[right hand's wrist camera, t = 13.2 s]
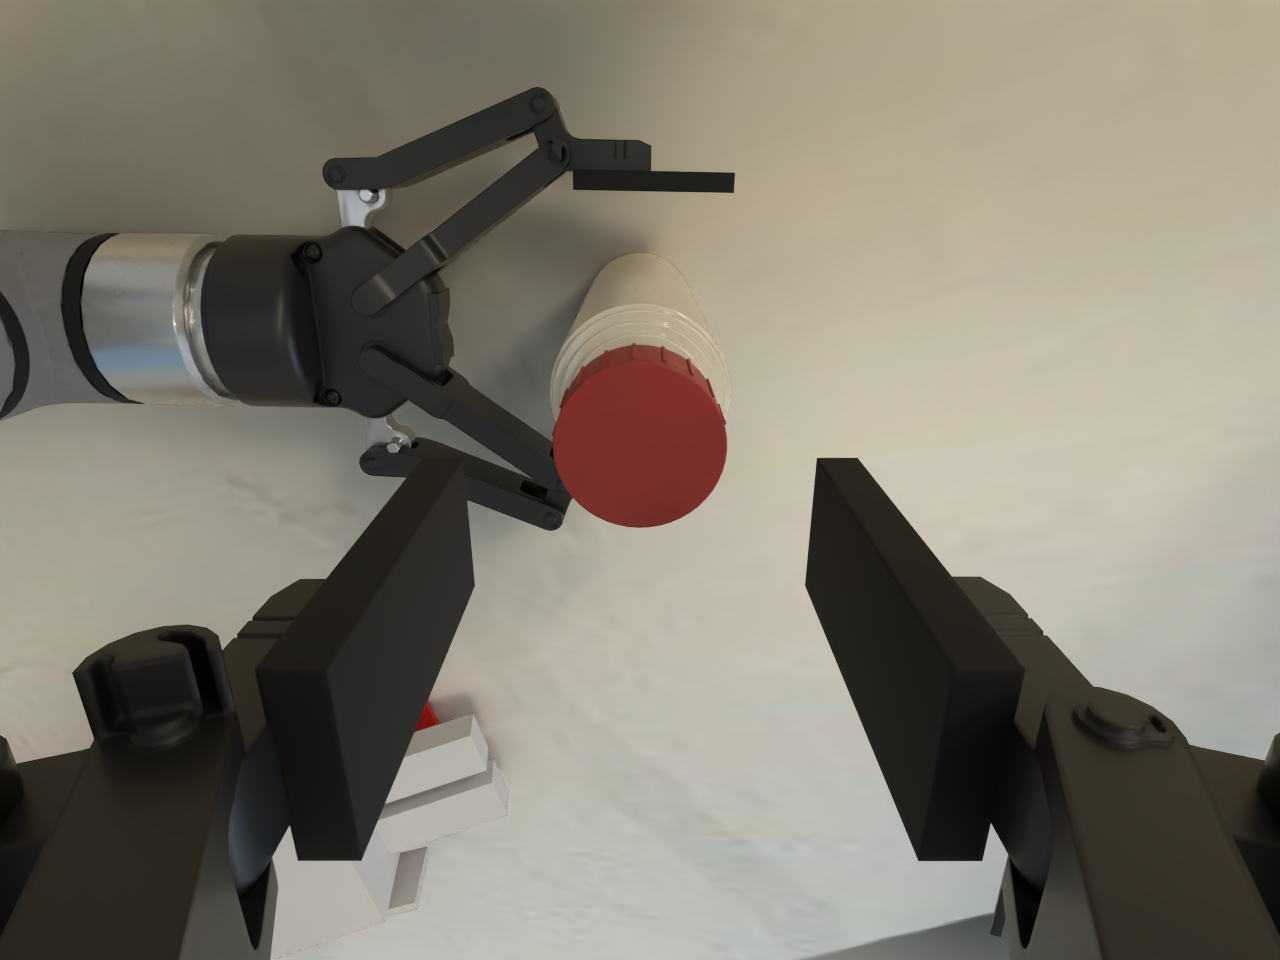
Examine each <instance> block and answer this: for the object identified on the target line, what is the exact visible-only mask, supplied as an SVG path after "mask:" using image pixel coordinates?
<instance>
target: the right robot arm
mask: <svg viewBox="0 0 1280 960" xmlns="http://www.w3.org/2000/svg"><path fill="white" fill-rule="evenodd" d="M474 586H475V582H474V572H473V561H472V550H471V539H470V529H469V518H468V507H467V496H466V485H465V475H464V464H463V458H422V459H421V461H420V462H419V463H418V464H417V466H416V467H415V468H414V469H413V471H412V472H411V473H410V474H409V476H408V477H407V478H406V479H405V481H404V482H403V483H402V484H401V486H400V487H399V488H398V490H397V491H396V492H395V493H394V495H393V496H392V497H391V498H390V500H389V501H388V502H387V503H386V505H385V506H384V507H383V508H382V510H381V511H380V512H379V513H378V515H377V516H376V517H375V518H374V520H373V521H372V522H371V523H370V525H369V526H368V527H367V529H366V530H365V531H364V532H363V534H362V535H361V536H360V537H359V539H358V540H357V541H356V542H355V544H354V545H353V546H352V547H351V549H350V550H349V551H348V552H347V554H346V555H345V556H344V557H343V559H342V560H341V561H340V562H339V564H338V565H337V566H336V567H335V569H334V570H333V571H332V573H331V574H330V575H329V576H328V578H327V579H299V580H298V581H296V582H294V583H293V584H291V585H289V586H288V587H286V588H284V589H283V590H281V591H279V592H278V593H276V594H274V595H273V596H271V597H270V598H269V599H268V600H267V601H266V603H265V604H264V605H263V606H262V607H261V608H260V609H259V610H258V611H257V613H256V614H255V615H254V616H253V620H252V621H249V622H248V623H247V624H246V625H245V626H244V627H243V628H242V629H241V630H240V632H239V633H238V634H237V635H238V636H237V638H233V639H232V641H231V642H230V643H229V644H228V645H227V646H226V647H225V648H224V649H223V651H222V649H221V645H220V640H219V636H218V635H217V634H215V633H214V632H212V631H211V630H209V629H208V628H205V627H199V626H193V625H175V626H162V627H158V628H154V629H150V630H146V631H142V632H137V633H134V634H132V635H129V636H127V637H124V638H122V639H119V640H117V641H114V642H112V643H109V644H107V645H106V646H104V647H103V648H101V649H99V650H98V651H96V652H95V653H93V654H91V655H90V656H88V657H87V658H85V660H84V661H83V662H82V663H81V664H80V665H79V666H78V667H77V668H76V669H75V670H74V671H73V672H72V674H73V677H74V679H75V682H76V685H77V688H78V691H79V694H80V697H81V700H82V703H83V706H84V709H85V712H86V715H87V718H88V721H89V724H90V727H91V730H92V733H93V736H94V741H93V743H92V745H91V747H90V748H89V749H85V750H81V751H76V752H72V753H67V754H62V755H57V756H52V757H47V758H42V759H37V760H32V761H28V762H23V763H18V764H16V762H15V759H14V757H13V754H12V752H11V749H10V747H9V744H8V741H7V739H5V738H4V737H2V736H1V735H0V960H270V957H271V948H272V939H273V930H274V921H275V912H276V903H277V895H278V882H277V876H276V870H275V866H274V862H273V858H272V857H273V855H274V853H275V851H276V849H277V847H278V846H279V844H280V842H281V840H282V838H283V836H284V835H285V833H286V831H287V829H288V827H289V825H290V828H291V833H292V837H293V842H294V846H295V850H296V855H297V859H298V861H362V858H363V856H364V853H365V851H366V849H367V846H368V844H369V841H370V839H371V836H372V834H373V832H374V829H375V827H376V824H377V822H378V819H379V817H380V815H381V812H382V810H383V807H384V805H385V802H386V800H387V798H388V795H389V793H390V790H391V788H392V785H393V783H394V781H395V778H396V776H397V773H398V771H399V768H400V766H401V764H402V761H403V759H404V756H405V754H406V751H407V749H408V747H409V744H410V742H411V739H412V737H413V734H414V732H415V730H416V727H417V725H418V722H419V720H420V718H421V715H422V713H423V710H424V708H425V705H426V703H427V701H428V698H429V696H430V693H431V691H432V688H433V686H434V684H435V681H436V679H437V676H438V674H439V671H440V669H441V667H442V664H443V662H444V659H445V657H446V654H447V652H448V650H449V647H450V645H451V642H452V640H453V637H454V635H455V633H456V630H457V628H458V625H459V623H460V620H461V618H462V616H463V613H464V611H465V608H466V606H467V603H468V601H469V599H470V596H471V594H472V591H473V589H474ZM805 586H806V589H807V591H808V594H809V596H810V599H811V601H812V603H813V606H814V608H815V611H816V613H817V616H818V618H819V620H820V623H821V625H822V628H823V630H824V633H825V635H826V637H827V640H828V642H829V645H830V647H831V650H832V652H833V654H834V657H835V659H836V662H837V664H838V667H839V669H840V671H841V674H842V676H843V679H844V681H845V684H846V686H847V688H848V691H849V693H850V696H851V698H852V701H853V703H854V705H855V708H856V710H857V713H858V715H859V718H860V720H861V722H862V725H863V727H864V730H865V732H866V734H867V737H868V739H869V742H870V744H871V747H872V749H873V751H874V754H875V756H876V759H877V761H878V764H879V766H880V768H881V771H882V773H883V776H884V778H885V781H886V783H887V785H888V788H889V790H890V793H891V795H892V798H893V800H894V802H895V805H896V807H897V810H898V812H899V815H900V817H901V819H902V822H903V824H904V827H905V829H906V832H907V834H908V836H909V839H910V841H911V844H912V846H913V849H914V851H915V853H916V856H917V858H918V861H982V859H983V855H984V850H985V846H986V842H987V837H988V833H989V828H990V824H992V825H993V827H994V829H995V831H996V833H997V834H998V836H999V838H1000V840H1001V842H1002V843H1003V845H1004V847H1005V849H1006V851H1007V853H1008V858H1007V862H1006V866H1005V870H1004V874H1003V879H1002V883H1001V887H1000V891H999V895H998V899H997V903H996V907H995V911H994V916H993V921H992V926H991V932H990V934H992V935H995V936H999V937H1001V934H1002V930H1003V926H1004V922H1005V920H1006V927H1007V937H1008V946H1009V955H1010V960H1280V733H1279V734H1277V735H1275V736H1274V739H1273V741H1272V744H1271V747H1270V749H1269V752H1268V754H1267V757H1266V759H1265V761H1264V760H1259V759H1254V758H1249V757H1245V756H1240V755H1235V754H1230V753H1225V752H1220V751H1215V750H1210V749H1205V748H1200V747H1196V746H1193V745H1189V744H1188V742H1187V739H1186V738H1185V736H1184V735H1183V734H1182V733H1181V731H1180V730H1179V729H1178V727H1177V726H1176V725H1175V724H1174V722H1173V721H1171V720H1170V719H1169V718H1167V717H1166V716H1165V715H1163V714H1162V713H1160V712H1159V711H1158V710H1156V709H1155V708H1154V707H1152V706H1150V705H1148V704H1146V703H1144V702H1141V701H1139V700H1137V699H1135V698H1133V697H1131V696H1129V695H1126V694H1123V693H1119V692H1115V691H1112V690H1108V689H1105V688H1101V687H1093V686H1092V685H1091V684H1090V683H1089V681H1088V680H1087V679H1086V678H1085V677H1084V676H1083V675H1082V674H1081V673H1080V671H1079V670H1078V669H1077V668H1076V667H1075V666H1074V665H1073V664H1072V663H1071V661H1070V660H1069V659H1068V658H1067V657H1066V656H1065V655H1064V654H1063V653H1062V652H1061V650H1060V649H1059V648H1058V647H1057V646H1056V645H1055V644H1054V643H1053V642H1052V640H1051V639H1050V638H1049V637H1048V636H1044V635H1043V630H1042V629H1041V628H1040V627H1039V626H1038V625H1037V624H1036V623H1035V622H1034V621H1033V619H1032V618H1028V614H1027V613H1026V612H1025V611H1024V609H1023V608H1022V607H1021V606H1020V605H1019V604H1018V603H1017V602H1016V601H1015V599H1014V598H1013V597H1012V596H1011V595H1010V594H1009V593H1007V592H1005V591H1004V590H1002V589H1000V588H999V587H997V586H995V585H993V584H992V583H990V582H988V581H987V580H985V579H983V578H982V577H952V576H951V575H950V574H949V573H948V571H947V570H946V569H945V567H944V566H943V565H942V564H941V562H940V561H939V560H938V559H937V557H936V556H935V555H934V554H933V552H932V551H931V550H930V549H929V547H928V546H927V545H926V544H925V542H924V541H923V540H922V539H921V537H920V536H919V535H918V534H917V532H916V531H915V530H914V529H913V527H912V526H911V525H910V523H909V522H908V521H907V520H906V518H905V517H904V516H903V515H902V513H901V512H900V511H899V510H898V508H897V507H896V506H895V505H894V503H893V502H892V501H891V500H890V498H889V497H888V496H887V495H886V493H885V492H884V491H883V490H882V488H881V487H880V486H879V484H878V483H877V482H876V481H875V479H874V478H873V477H872V476H871V474H870V473H869V472H868V471H867V469H866V468H865V467H864V466H863V464H862V463H861V462H860V461H859V459H858V458H817V464H816V475H815V485H814V496H813V507H812V518H811V529H810V539H809V550H808V561H807V572H806V582H805Z"/></svg>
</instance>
